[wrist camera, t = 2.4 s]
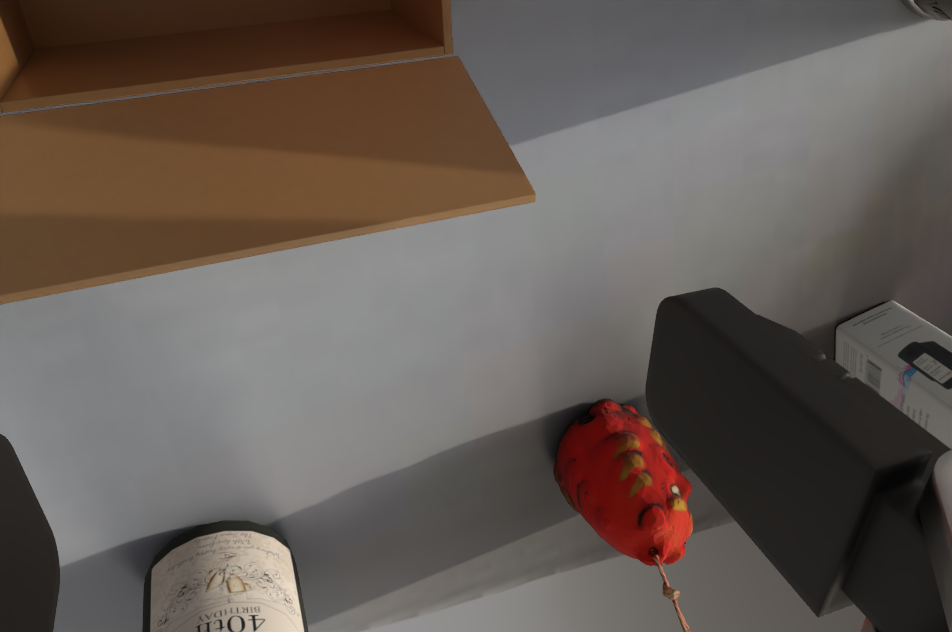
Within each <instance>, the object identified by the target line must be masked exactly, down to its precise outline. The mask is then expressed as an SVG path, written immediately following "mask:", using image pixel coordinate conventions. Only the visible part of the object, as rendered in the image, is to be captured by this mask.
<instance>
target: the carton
mask: <svg viewBox="0 0 952 632" xmlns="http://www.w3.org/2000/svg"><path fill="white" fill-rule="evenodd" d="M451 54H453V43H452V25H451V8H450V0H0V113H3V112H12V111H20V110H28V109H35V108H43V107H51V106H59V105H66V104H74V103H82V102H89V101H97V100H105V99H112V98H120V97H128V96H135V95H143V94H151V93H158V92H166V91H174V90H182V89H189V88H197V87H205V86H212V85H220V84H228V83H235V82H243V81H251V80H258V79H266V78H274V77H281V76H289V75H297V74H305V73H312V72H320V71H328V70H335V69H343V68H351V67H358V66H366V65H374V64H381V63H389V62H397V61H404V60H412V59H420V58H428V57H435V56H443V55H451Z"/></svg>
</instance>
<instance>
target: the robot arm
mask: <svg viewBox="0 0 952 632" xmlns="http://www.w3.org/2000/svg"><path fill="white" fill-rule="evenodd" d="M902 1H903V3H904V4H905V5H906V6H907V7H908V8H909V9H910V10H911V11H912V12H914V13H915V14H917V15H920V16H922V17H926V18H931V19H935V20H944V21H945V20H950V21H952V0H902ZM646 402H647V406H648V410H649V413H650V416H651V418H652V420H653V422H654V424H655V426H656V427H657V429H658V430H659V431H660V433H661V434H662V435H663V436H664V437H665V439H666V440H667V441H668V442H669V443H670V444H671V446H672V447H673V448H674V449H675V450H676V451H677V453H678V454H679V455H680V456H681V457H682V459H683V460H684V461H685V462H686V463H687V464H688V466H689V467H690V468H691V469H692V470H693V471H694V473H695V474H696V475H697V476H698V477H699V478H700V480H701V481H702V482H703V483H704V484H705V486H706V487H707V488H708V489H709V490H710V491H711V493H712V494H713V495H714V496H715V497H716V498H717V500H718V501H719V502H720V503H721V504H722V505H723V507H724V508H725V509H726V510H727V511H728V512H729V514H730V515H731V516H732V517H733V518H734V520H735V521H736V522H737V523H738V524H739V525H740V526H741V528H742V529H743V530H744V531H745V532H746V534H747V535H748V536H749V537H750V538H751V539H752V541H753V542H754V543H755V544H756V545H757V546H758V548H759V549H760V550H761V551H762V552H763V553H764V555H765V556H766V557H767V558H768V559H769V561H770V562H771V563H772V564H773V565H774V566H775V568H776V569H777V570H778V571H779V572H780V573H781V575H782V576H783V577H784V578H785V579H786V580H787V582H788V583H789V584H790V585H791V586H792V588H793V589H794V590H795V591H796V592H797V593H798V595H799V596H800V597H801V598H802V599H803V600H804V602H806V604H807V605H808V606H809V607H810V609H811V610H812V611H813V612H814V613H815V614H816V616H817V617H821V616H824V615H826V614H829V613H832V612H834V611H837V610H840V609H842V608H845V607H847V606H850V605H853V604H855V605H856V606H857V607H858V608H859V609H860V610H861V612H862V613H863V614H864V615H865V616H866V618H865V621H864V623H863V625H862V629H861V632H952V449H950V448H949V447H948V446H946V445H945V444H944V443H942V442H941V441H940V440H938V439H937V438H936V437H934V436H933V435H932V434H930V433H929V432H928V431H926V430H925V429H924V428H923V427H921V426H920V425H919V424H917V423H916V422H915V421H913V420H912V419H911V418H909V417H908V416H907V415H905V414H904V413H903V412H901V411H900V410H899V409H897V408H896V407H895V406H894V405H892V404H891V403H890V402H888V401H887V400H886V399H884V398H883V397H882V396H880V395H879V394H878V393H876V392H875V391H874V390H872V389H871V388H870V387H869V386H867V385H866V384H865V383H863V382H862V381H861V380H859V379H858V378H857V377H855V378H851V377H850V372H849V371H847V370H846V369H845V368H843V367H842V366H841V365H840V364H838V363H837V362H836V361H834V360H833V359H832V358H830V359H826V357H825V353H824V352H822V351H821V350H820V349H818V348H817V347H816V346H814V345H813V344H812V343H811V342H809V341H808V340H807V339H805V338H804V337H803V336H801V335H800V334H799V333H797V332H796V331H794V330H792V329H789V328H787V327H785V326H783V325H780V324H778V323H776V322H773V321H771V320H769V319H767V318H764V317H762V316H760V315H756V314H755V313H753V312H752V311H751V310H749V309H748V308H747V307H746V306H744V305H743V304H742V303H740V302H739V301H738V300H737V299H735V298H734V297H733V296H732V295H730V294H729V293H728V292H726V291H725V290H723V289H720V288H710V289H705V290H700V291H695V292H690V293H685V294H681V295H676V296H671V297H667V298H665V299H664V300H663V301H662V302H661V303H660V305H659V307H658V310H657V314H656V320H655V327H654V334H653V341H652V347H651V354H650V361H649V367H648V374H647V381H646ZM59 585H60V566H59V557H58V551H57V546H56V542H55V538H54V535H53V532H52V530H51V527H50V525H49V523H48V521H47V519H46V517H45V515H44V513H43V510H42V508H41V506H40V504H39V502H38V500H37V498H36V495H35V493H34V491H33V489H32V487H31V485H30V483H29V480H28V478H27V476H26V474H25V472H24V470H23V468H22V466H21V463H20V461H19V459H18V457H17V455H16V453H15V451H14V449H13V447H12V445H11V443H10V442H9V440H8V439H7V438H6V437H5V436H3V435H1V434H0V632H53V627H54V620H55V613H56V607H57V600H58V593H59Z"/></svg>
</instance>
